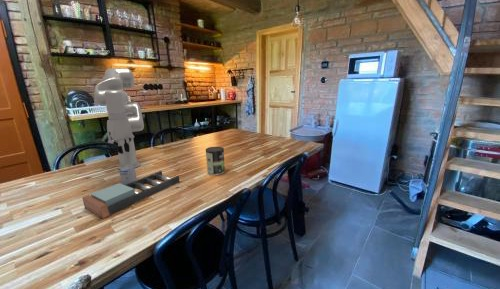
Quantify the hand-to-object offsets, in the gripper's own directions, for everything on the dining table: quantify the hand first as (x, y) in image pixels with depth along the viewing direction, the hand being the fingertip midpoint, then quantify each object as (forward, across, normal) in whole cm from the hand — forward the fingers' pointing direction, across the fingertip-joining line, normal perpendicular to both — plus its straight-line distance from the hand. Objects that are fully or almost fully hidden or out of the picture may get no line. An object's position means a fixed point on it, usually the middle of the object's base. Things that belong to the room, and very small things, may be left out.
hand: (124, 152), depth 112 cm
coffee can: (+17, -34, +31) cm, 49 cm away
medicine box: (+17, 0, 0) cm, 17 cm away
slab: (+14, +15, +15) cm, 26 cm away
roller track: (+17, +5, +15) cm, 23 cm away
